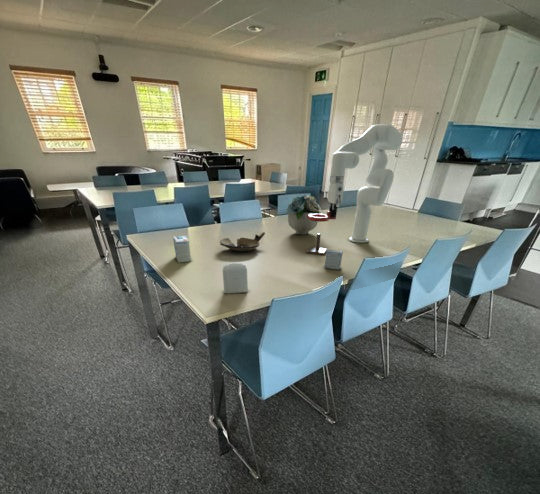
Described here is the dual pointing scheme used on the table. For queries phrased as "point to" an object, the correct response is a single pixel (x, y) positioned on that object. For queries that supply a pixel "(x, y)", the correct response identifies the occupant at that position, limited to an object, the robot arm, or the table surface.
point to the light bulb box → (182, 249)
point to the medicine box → (333, 259)
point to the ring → (320, 217)
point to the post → (317, 247)
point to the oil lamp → (242, 243)
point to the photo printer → (235, 278)
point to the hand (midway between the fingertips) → (332, 216)
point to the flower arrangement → (302, 213)
